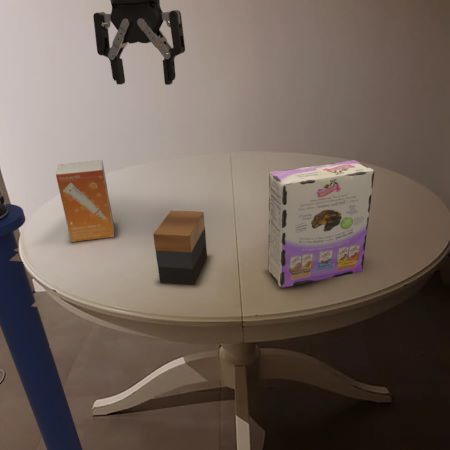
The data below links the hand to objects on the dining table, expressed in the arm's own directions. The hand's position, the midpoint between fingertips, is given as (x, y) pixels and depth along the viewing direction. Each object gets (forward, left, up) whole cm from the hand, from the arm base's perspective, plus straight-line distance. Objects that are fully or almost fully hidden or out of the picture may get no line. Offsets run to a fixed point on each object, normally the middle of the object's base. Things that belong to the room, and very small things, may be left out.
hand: (144, 83), depth 79 cm
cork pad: (+9, -18, -20) cm, 28 cm away
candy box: (+30, -16, -26) cm, 43 cm away
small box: (-12, -6, -26) cm, 29 cm away
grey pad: (+9, -18, -23) cm, 30 cm away
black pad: (+9, -18, -25) cm, 32 cm away
